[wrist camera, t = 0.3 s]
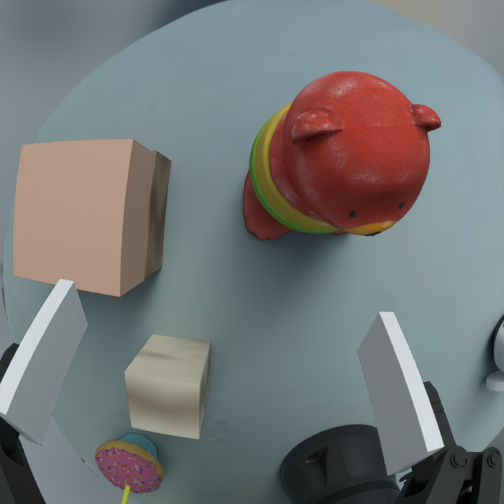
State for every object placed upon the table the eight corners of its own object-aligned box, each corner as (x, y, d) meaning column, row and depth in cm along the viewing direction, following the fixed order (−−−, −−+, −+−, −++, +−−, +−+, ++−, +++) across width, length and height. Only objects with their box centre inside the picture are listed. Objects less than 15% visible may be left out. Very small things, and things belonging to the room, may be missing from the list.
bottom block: (162, 266, 28) (146, 277, 23) (75, 256, 27) (49, 263, 22) (171, 161, 26) (156, 150, 22) (82, 160, 26) (56, 152, 21)
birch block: (208, 390, 29) (199, 439, 21) (154, 383, 29) (131, 427, 21) (210, 341, 28) (199, 384, 20) (152, 334, 28) (124, 371, 20)
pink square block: (144, 280, 23) (120, 296, 18) (47, 265, 22) (14, 275, 17) (155, 153, 22) (133, 139, 17) (55, 154, 21) (22, 145, 16)
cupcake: (181, 463, 31) (165, 533, 19) (129, 467, 31) (104, 527, 19) (150, 417, 30) (119, 489, 18) (96, 423, 30) (58, 483, 18)
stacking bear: (246, 242, 27) (245, 293, 10) (236, 133, 26) (222, 16, 8) (359, 232, 27) (495, 259, 10) (348, 129, 26) (460, 44, 8)
